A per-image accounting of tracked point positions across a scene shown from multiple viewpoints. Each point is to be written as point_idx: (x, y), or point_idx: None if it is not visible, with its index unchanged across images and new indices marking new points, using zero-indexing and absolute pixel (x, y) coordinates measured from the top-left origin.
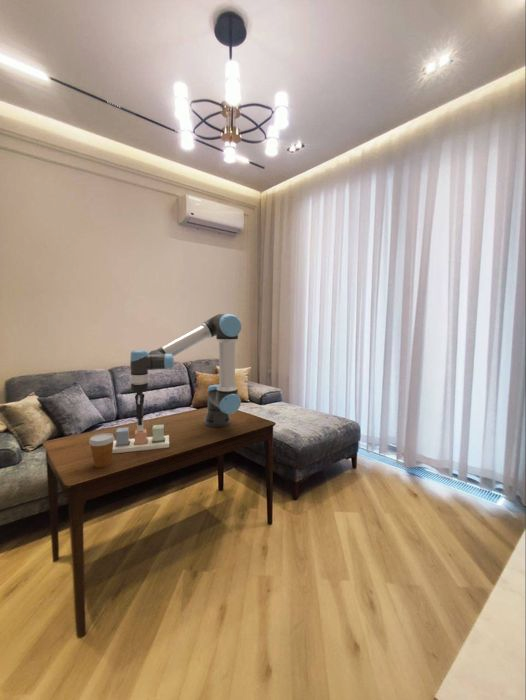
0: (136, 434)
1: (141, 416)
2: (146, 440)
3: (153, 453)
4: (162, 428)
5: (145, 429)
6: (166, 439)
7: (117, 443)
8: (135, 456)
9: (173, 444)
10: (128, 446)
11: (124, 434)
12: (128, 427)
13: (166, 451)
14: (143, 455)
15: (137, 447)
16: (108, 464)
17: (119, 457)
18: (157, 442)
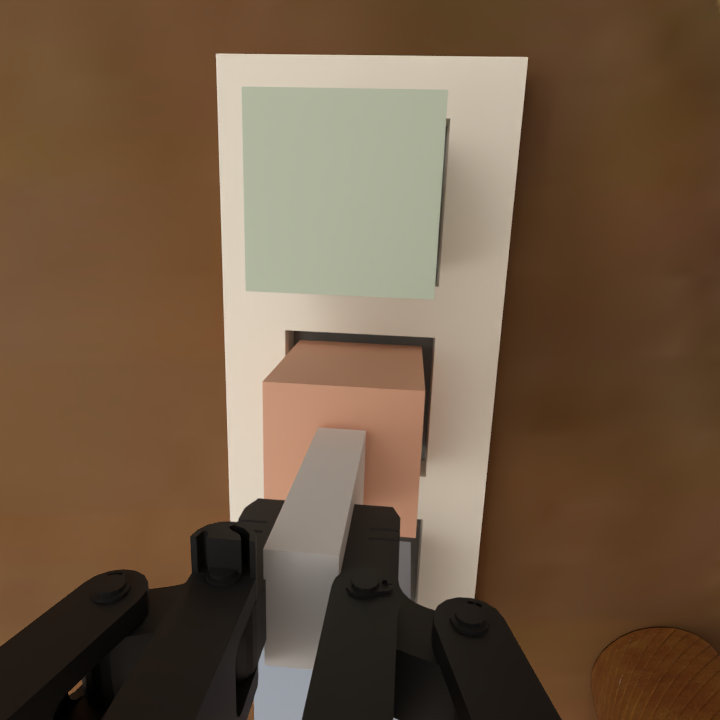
0: (416, 508)
1: (518, 665)
2: (358, 349)
3: (610, 262)
4: (444, 113)
5: (282, 397)
6: None
7: None
8: (609, 438)
9: (430, 10)
10: (442, 524)
11: None
12: None
13: (616, 109)
14: (618, 364)
15: (488, 437)
16: (713, 649)
17: (570, 569)
18: None
